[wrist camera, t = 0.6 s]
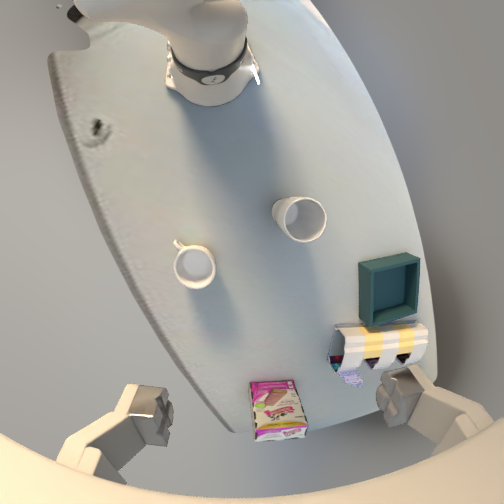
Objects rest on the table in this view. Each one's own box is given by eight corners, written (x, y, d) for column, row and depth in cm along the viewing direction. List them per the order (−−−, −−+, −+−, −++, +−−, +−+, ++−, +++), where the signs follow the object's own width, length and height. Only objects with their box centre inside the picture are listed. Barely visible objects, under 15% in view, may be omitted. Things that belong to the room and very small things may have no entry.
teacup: (224, 264, 55) (224, 272, 50) (195, 287, 55) (192, 297, 50) (192, 225, 53) (188, 229, 47) (163, 249, 53) (157, 256, 48)
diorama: (326, 360, 63) (345, 393, 50) (335, 324, 60) (358, 353, 48) (404, 352, 65) (429, 376, 53) (415, 319, 63) (443, 341, 50)
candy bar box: (293, 378, 63) (310, 424, 47) (291, 392, 64) (306, 438, 48) (248, 381, 62) (255, 429, 46) (248, 395, 63) (254, 443, 47)
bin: (358, 262, 58) (370, 269, 52) (406, 252, 58) (420, 258, 53) (358, 317, 61) (369, 328, 55) (404, 303, 61) (416, 312, 56)
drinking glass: (307, 208, 54) (336, 216, 39) (287, 235, 55) (309, 252, 40) (281, 187, 52) (301, 187, 38) (260, 215, 53) (273, 225, 39)
